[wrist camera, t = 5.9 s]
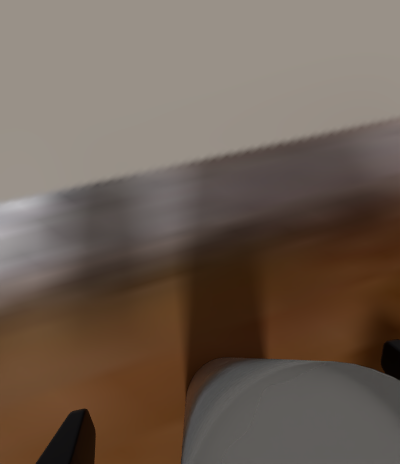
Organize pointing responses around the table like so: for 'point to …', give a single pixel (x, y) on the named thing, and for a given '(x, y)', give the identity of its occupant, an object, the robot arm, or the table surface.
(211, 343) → the table surface
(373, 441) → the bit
